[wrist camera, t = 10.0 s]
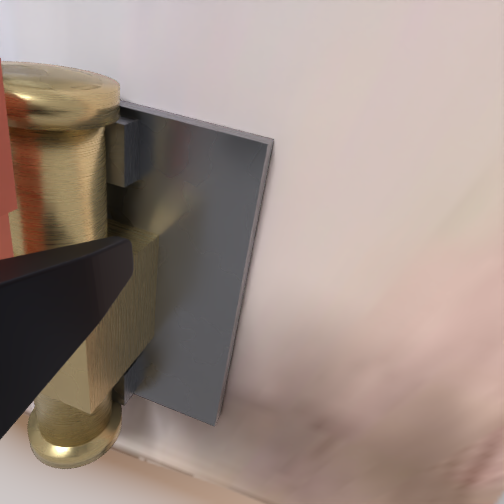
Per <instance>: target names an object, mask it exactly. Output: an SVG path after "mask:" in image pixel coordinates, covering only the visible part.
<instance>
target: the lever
mask: <svg viewBox="0 0 504 504" xmlns="http://www.w3.org/2000/svg"><path fill="white" fill-rule="evenodd" d="M16 209H18V207H17V198H16V189H15V181H14V172H13V163H12V154H11V146H10V137H9V128H8V120H7V111H6V102H5V93H4V85H3V76H2V67H1V58H0V260H1V259H6V258H11V257H14V254H13V246H12V238H11V230H10V223H9V215H8V213H9V212H12V211H14V210H16Z"/></svg>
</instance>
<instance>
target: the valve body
mask: <svg viewBox="0 0 504 504" xmlns="http://www.w3.org/2000/svg"><path fill="white" fill-rule="evenodd" d="M1 67H2V76H3V85H4V93H5V102H6V111H7V120H8V128H9V137H10V146H11V154H12V163H13V172H14V181H15V189H16V198H17V207H18V209H16V210H14V211H12V212H9V213H8V215H9V223H10V230H11V238H12V246H13V254H14V257H15V256H20V255H25V254H30V253H35V252H40V251H44V250H49V249H54V248H59V247H64V246H68V245H73V244H78V243H83V242H88V241H92V240H97V239H102V238H107V237H112V236H118V237H122V238H126V239H129V240H130V241H131V243H132V251H133V264H134V270H133V274H132V276H131V278H130V280H129V281H128V282H127V284H126V285H125V287H124V288H123V290H122V291H121V293H120V294H119V296H118V297H117V299H116V300H115V302H114V303H113V304H112V306H111V307H110V309H109V310H108V312H107V313H106V315H105V316H104V317H103V319H102V320H101V322H100V323H99V324H98V325H97V326H96V328H95V329H94V330H93V331H92V333H91V334H90V335H89V336H88V337H87V338H86V340H85V341H84V342H83V343H82V344H81V345H80V347H79V348H78V349H77V350H76V351H75V352H74V354H73V355H72V356H71V357H70V358H69V360H68V361H67V362H66V363H65V364H64V365H63V367H62V368H61V369H60V370H59V371H58V372H57V374H56V375H55V376H54V377H53V378H52V380H51V381H50V382H49V383H48V384H47V385H46V387H45V388H44V389H43V390H42V391H41V392H40V394H39V395H38V396H37V397H36V398H35V399H34V404H35V407H34V409H33V411H32V413H31V415H30V417H29V421H28V436H29V441H30V445H31V449H32V451H33V453H34V455H35V456H36V457H37V459H39V460H40V461H41V462H42V463H44V464H46V465H48V466H51V467H54V468H60V469H69V468H70V469H71V468H77V467H81V466H84V465H86V464H89V463H91V462H93V461H95V460H97V459H98V458H100V457H101V456H102V455H104V454H105V453H106V452H107V451H108V450H109V449H110V448H111V447H112V446H113V444H114V443H115V441H116V440H117V438H118V436H119V433H120V430H121V425H122V408H121V404H122V405H125V404H126V403H127V401H128V400H129V399H130V397H131V396H132V395H133V393H134V394H136V395H138V396H141V397H143V398H146V399H148V400H151V401H153V402H156V403H158V404H161V405H163V406H165V407H168V408H170V409H173V410H175V411H178V412H180V413H183V414H185V415H188V416H190V417H192V418H195V419H197V420H200V421H202V422H205V423H207V424H210V425H212V426H215V425H216V423H217V421H218V419H219V416H220V413H221V408H222V403H223V398H224V392H225V387H226V382H227V377H228V372H229V367H230V362H231V357H232V351H233V346H234V341H235V336H236V331H237V326H238V321H239V315H240V310H241V305H242V300H243V295H244V290H245V285H246V280H247V274H248V269H249V264H250V259H251V254H252V249H253V244H254V238H255V233H256V228H257V223H258V218H259V213H260V208H261V203H262V197H263V192H264V187H265V182H266V177H267V172H268V167H269V161H270V156H271V151H272V146H273V141H274V139H271V138H267V137H263V136H259V135H255V134H251V133H247V132H243V131H240V130H236V129H232V128H228V127H224V126H220V125H216V124H212V123H208V122H204V121H200V120H197V119H193V118H189V117H185V116H181V115H177V114H173V113H169V112H165V111H161V110H157V109H154V108H150V107H146V106H142V105H138V104H134V103H130V102H126V101H122V100H120V85H119V83H118V82H117V81H115V80H113V79H111V78H109V77H107V76H104V75H101V74H98V73H94V72H90V71H86V70H81V69H76V68H70V67H64V66H58V65H50V64H41V63H30V62H12V61H1Z"/></svg>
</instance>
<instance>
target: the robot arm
mask: <svg viewBox="0 0 504 504" xmlns="http://www.w3.org/2000/svg"><path fill="white" fill-rule="evenodd" d="M133 270H134V264H133V251H132V243H131V241H130V240H129V239H126V238H122V237H118V236H112V237H107V238H102V239H97V240H92V241H88V242H83V243H78V244H73V245H68V246H64V247H59V248H54V249H49V250H44V251H40V252H35V253H30V254H25V255H20V256H15V257H11V258H6V259H1V260H0V439H1V438H2V437H3V436H4V435H5V434H6V432H7V431H8V430H9V429H10V427H11V426H12V425H13V424H14V423H15V422H16V421H17V419H18V418H19V417H20V416H21V415H22V414H23V412H24V411H25V410H26V409H27V408H28V407H29V405H30V404H31V403H32V402H33V401H34V399H35V398H36V397H37V396H38V395H39V394H40V392H41V391H42V390H43V389H44V388H45V387H46V385H47V384H48V383H49V382H50V381H51V380H52V378H53V377H54V376H55V375H56V374H57V372H58V371H59V370H60V369H61V368H62V367H63V365H64V364H65V363H66V362H67V361H68V360H69V358H70V357H71V356H72V355H73V354H74V352H75V351H76V350H77V349H78V348H79V347H80V345H81V344H82V343H83V342H84V341H85V340H86V338H87V337H88V336H89V335H90V334H91V333H92V331H93V330H94V329H95V328H96V326H97V325H98V324H99V323H100V322H101V320H102V319H103V317H104V316H105V315H106V313H107V312H108V310H109V309H110V307H111V306H112V304H113V303H114V302H115V300H116V299H117V297H118V296H119V294H120V293H121V291H122V290H123V288H124V287H125V285H126V284H127V282H128V281H129V280H130V278H131V276H132V274H133Z"/></svg>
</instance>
